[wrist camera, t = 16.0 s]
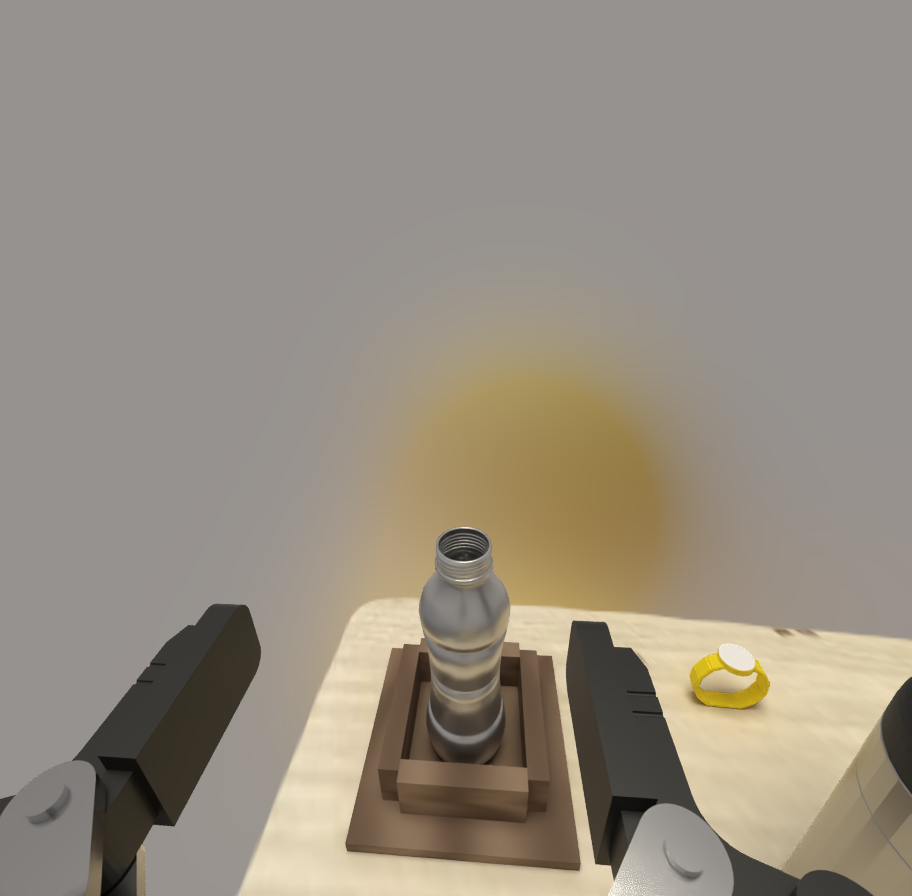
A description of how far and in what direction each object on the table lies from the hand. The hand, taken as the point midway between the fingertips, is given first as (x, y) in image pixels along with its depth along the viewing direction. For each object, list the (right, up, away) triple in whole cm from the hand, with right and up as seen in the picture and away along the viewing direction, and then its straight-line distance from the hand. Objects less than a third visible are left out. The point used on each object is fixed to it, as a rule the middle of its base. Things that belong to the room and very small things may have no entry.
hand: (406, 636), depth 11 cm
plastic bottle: (+2, -20, +26) cm, 33 cm away
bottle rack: (+2, -20, +27) cm, 34 cm away
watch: (+25, -19, +30) cm, 43 cm away
